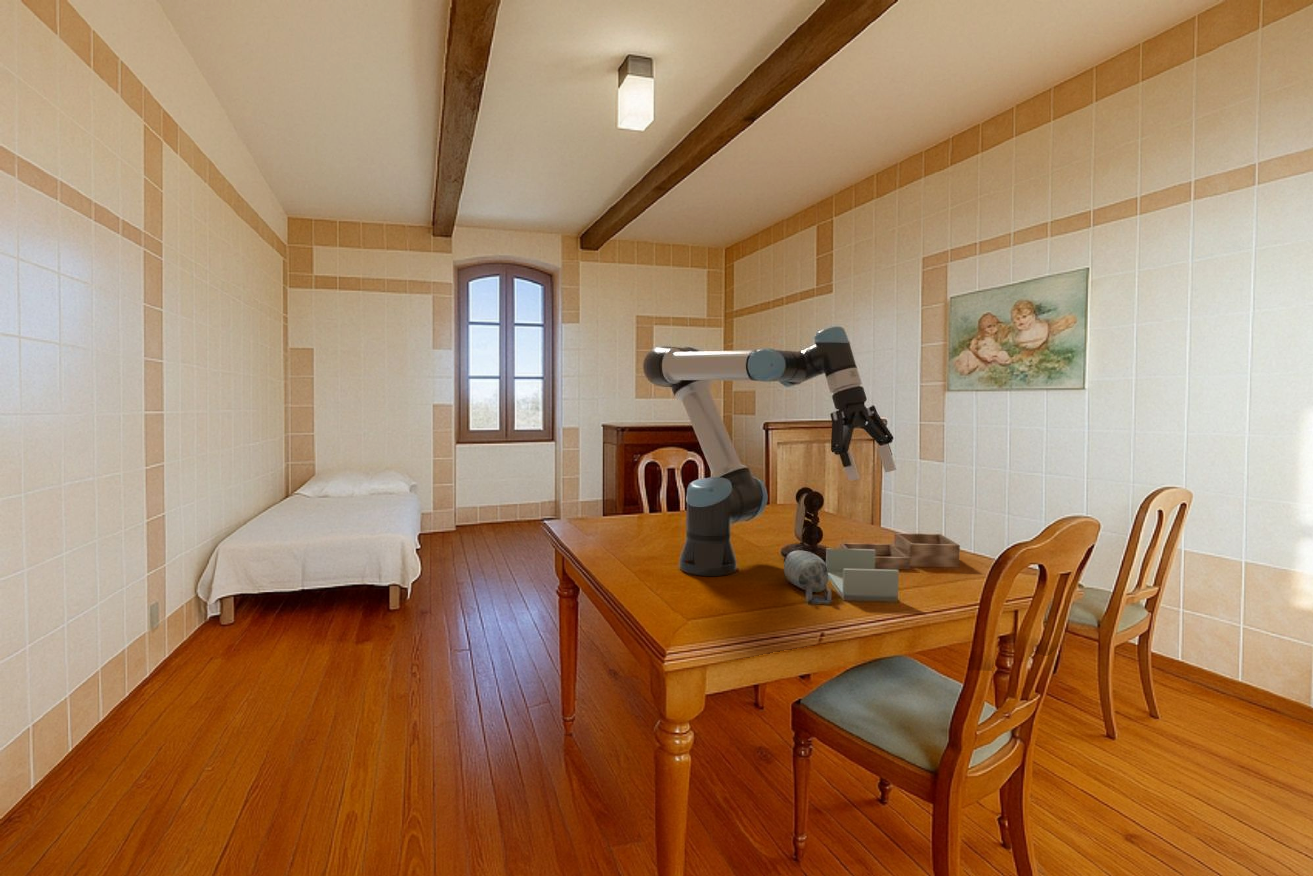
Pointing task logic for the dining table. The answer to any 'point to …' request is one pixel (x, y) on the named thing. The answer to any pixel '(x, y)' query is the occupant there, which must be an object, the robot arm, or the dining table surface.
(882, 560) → the frame
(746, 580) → the dining table surface
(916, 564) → the frame
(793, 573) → the grey oval rock
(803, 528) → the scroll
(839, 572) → the holder
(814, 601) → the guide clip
